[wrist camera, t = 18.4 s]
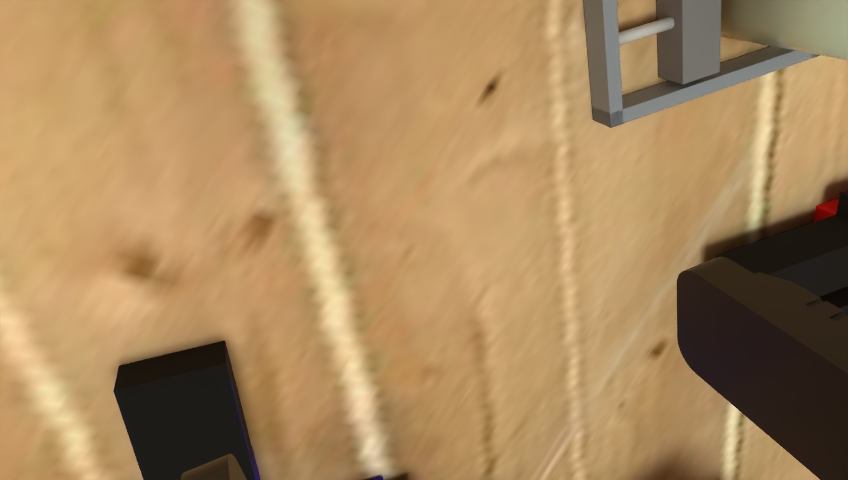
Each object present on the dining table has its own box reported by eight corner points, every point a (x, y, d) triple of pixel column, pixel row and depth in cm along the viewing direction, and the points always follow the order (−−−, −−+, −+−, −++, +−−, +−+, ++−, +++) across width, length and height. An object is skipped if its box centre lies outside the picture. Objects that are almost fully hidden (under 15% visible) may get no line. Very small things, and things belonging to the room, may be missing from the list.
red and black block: (780, 268, 46) (1030, 178, 51) (699, 223, 53) (927, 149, 58) (759, 416, 52) (981, 323, 58) (690, 359, 60) (894, 281, 65)
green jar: (706, -41, 42) (931, -32, 30) (778, -63, 44) (1025, -62, 31) (705, 47, 45) (909, 91, 33) (773, 25, 47) (996, 58, 34)
